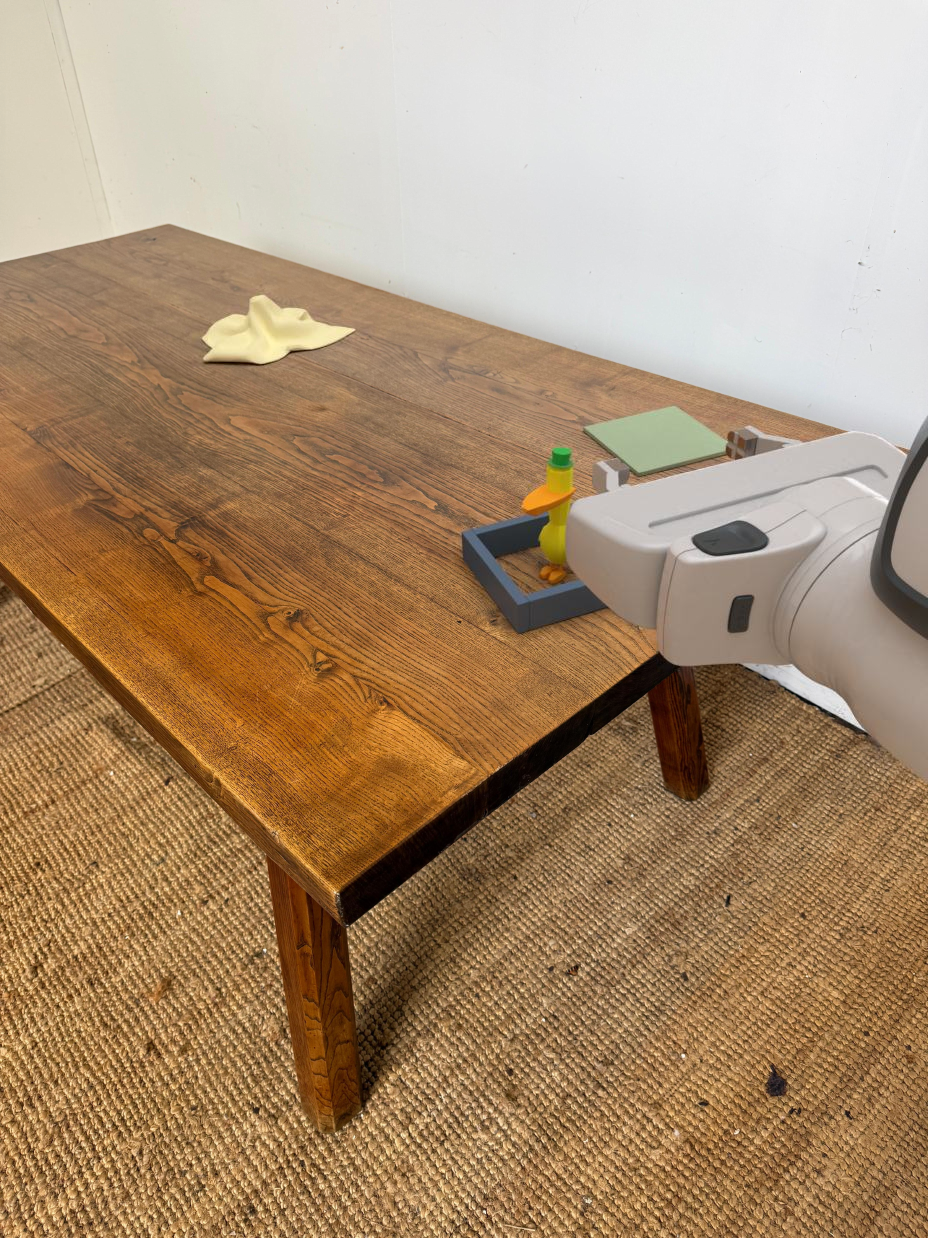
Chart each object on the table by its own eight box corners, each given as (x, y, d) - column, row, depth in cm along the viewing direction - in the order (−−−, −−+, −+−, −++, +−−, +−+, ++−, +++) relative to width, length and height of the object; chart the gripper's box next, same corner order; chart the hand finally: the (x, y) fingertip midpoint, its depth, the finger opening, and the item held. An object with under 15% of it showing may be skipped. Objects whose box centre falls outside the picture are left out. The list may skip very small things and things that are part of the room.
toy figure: (540, 602, 75) (541, 476, 67) (510, 585, 77) (507, 461, 69) (592, 568, 78) (598, 445, 71) (561, 553, 80) (565, 432, 73)
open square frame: (579, 527, 83) (580, 500, 82) (646, 595, 75) (649, 566, 73) (462, 559, 80) (461, 531, 78) (518, 634, 71) (517, 604, 69)
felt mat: (674, 409, 103) (674, 405, 102) (736, 451, 94) (737, 447, 94) (583, 430, 99) (583, 426, 99) (638, 476, 91) (638, 472, 90)
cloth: (211, 375, 118) (200, 330, 114) (187, 332, 131) (177, 290, 127) (368, 343, 124) (363, 299, 120) (330, 305, 138) (324, 265, 134)
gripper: (1006, 469, 44) (820, 373, 55) (655, 568, 39) (521, 440, 49) (967, 572, 48) (800, 464, 58) (642, 675, 43) (521, 536, 53)
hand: (671, 454), depth 54 cm, fingers open, 8 cm apart
